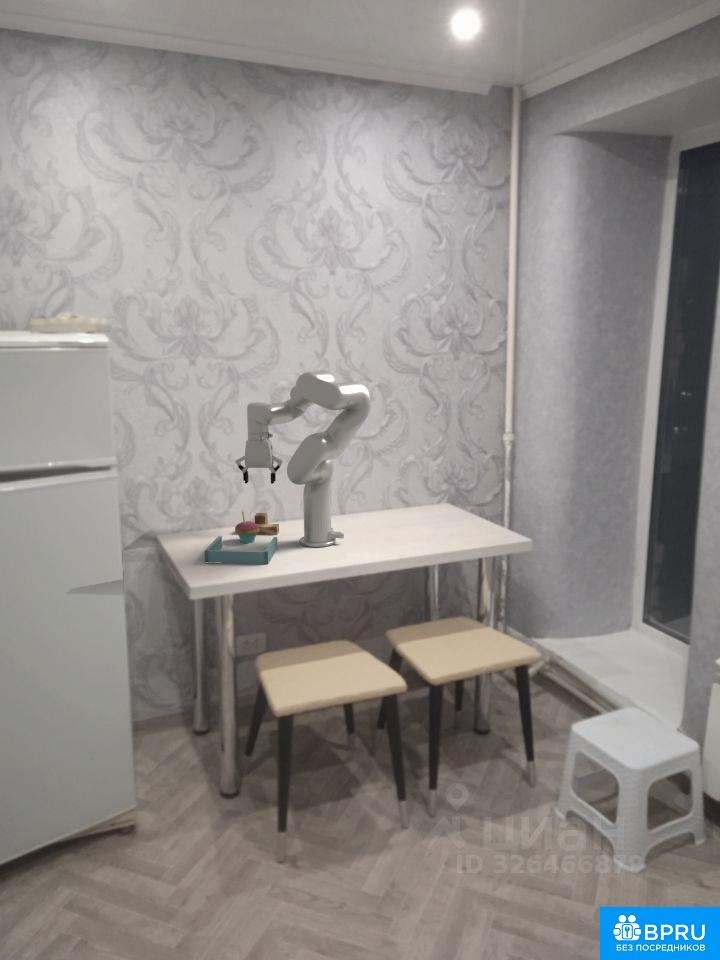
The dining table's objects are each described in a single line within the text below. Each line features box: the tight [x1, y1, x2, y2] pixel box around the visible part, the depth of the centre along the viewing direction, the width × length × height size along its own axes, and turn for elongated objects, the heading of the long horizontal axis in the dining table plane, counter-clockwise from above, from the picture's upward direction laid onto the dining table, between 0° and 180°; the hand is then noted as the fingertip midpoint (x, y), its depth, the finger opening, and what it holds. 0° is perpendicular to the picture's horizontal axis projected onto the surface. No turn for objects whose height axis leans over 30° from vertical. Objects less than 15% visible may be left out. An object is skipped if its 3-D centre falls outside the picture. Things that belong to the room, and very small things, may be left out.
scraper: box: [254, 512, 280, 536], centre depth 269 cm, size 14×8×6 cm, turn 86°
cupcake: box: [234, 509, 259, 544], centre depth 255 cm, size 9×8×12 cm
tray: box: [203, 535, 279, 565], centre depth 240 cm, size 20×17×4 cm
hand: (259, 482), depth 268 cm, fingers open, 9 cm apart
